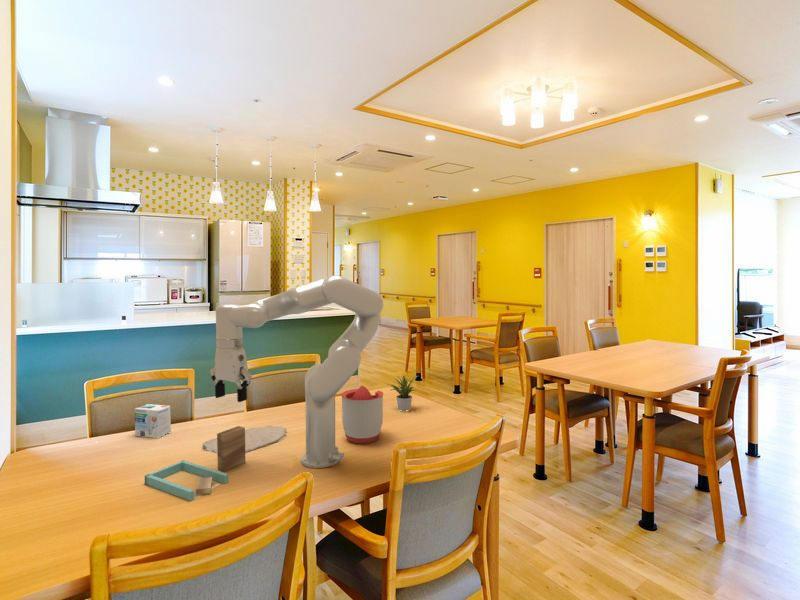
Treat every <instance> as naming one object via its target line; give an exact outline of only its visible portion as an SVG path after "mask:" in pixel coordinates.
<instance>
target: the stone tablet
mask: <svg viewBox="0 0 800 600" xmlns="http://www.w3.org/2000/svg"><path fill="white" fill-rule="evenodd" d="M286 438H287V428H286V427H283V426H274V425H267V426H263V427H262V426H261V427H260V426H259V427H251V428H247V429H245V454H246V453H250V452H252V451H255V450H258V449H261V448H265V447H268V446H270V445H273V444H276V443H279V442H281V441H283V440H285V439H286ZM201 448H202V450H204V449H206V450H205V451H206V452H210V453H214V454H217V437H215V438H211V439H209V440H207V441H205V442H202V447H201Z"/></svg>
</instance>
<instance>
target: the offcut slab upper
mask: <svg viewBox="0 0 800 600" xmlns="http://www.w3.org/2000/svg"><path fill="white" fill-rule="evenodd" d="M212 483H213V480H212V477H199V478H198V479H197V484H196V487H195V490H196V496H200V495H202V496H206V495H211V493H212V489H211V487H212Z"/></svg>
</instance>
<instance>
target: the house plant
mask: <svg viewBox="0 0 800 600" xmlns="http://www.w3.org/2000/svg"><path fill="white" fill-rule="evenodd" d="M417 377H419V375H416V376H413V377H412V376H410V377H409V378H407V377H406V375H404V374H402V379H401V378H400V377H398V376H397V378H395V377H391V378H392V379H393V381H394V380H395V382H396V383H397V385H398V386H396V385H394V384H392V383H387V385H388V386H391V387H392V388H391V389H390V390H389V391H390V392H391V391H396V392H397V393H398V394H399V395H396V402H397V409H399V410H402V411H406V410H410V411H411V406H412V400H413V396H412V395H410V394H411V393H412V392H413V391H415V392H416V390H415V389H414V387H413V386H412V384H413V383H415V382H416V380H415V379H417ZM399 410H398V411H399Z"/></svg>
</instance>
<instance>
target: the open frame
mask: <svg viewBox="0 0 800 600" xmlns="http://www.w3.org/2000/svg"><path fill="white" fill-rule="evenodd" d="M182 471H184V472H187V473H190V474H194V475H196V476H200V477H201V478H205V477H212V481H215V482H216V483H217V482H218V483H219V484H223V485H225V484H227V483H229V474H228V473H225V472H222V471H219V470H216V469H213V468H209V467H206V466H203V465H200V464H196V463H193V462H191V461H187V460H183V459H182V460H181V461H178V462H175V463H173V464H170V465H168V466H166V467H163V468H160V469H158V470H155V471H153V472H151V473H147V474H145V475H144V485H146V486H149V487H151V488H154V489H158V490H160V491H163V492H165V493H168V494H171V495H174V496H175V497H179V498H182V499H184V500H186V501H189V502H191V501H193V500H195V496H194V489H192V488H190V487H189V488H188V487H185V486H184V485H181V484H178V483H175V482H173V481H169V480H166V479H164V478H167V477H169V476H172V475H174V474H177V473H179V472H182Z"/></svg>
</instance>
